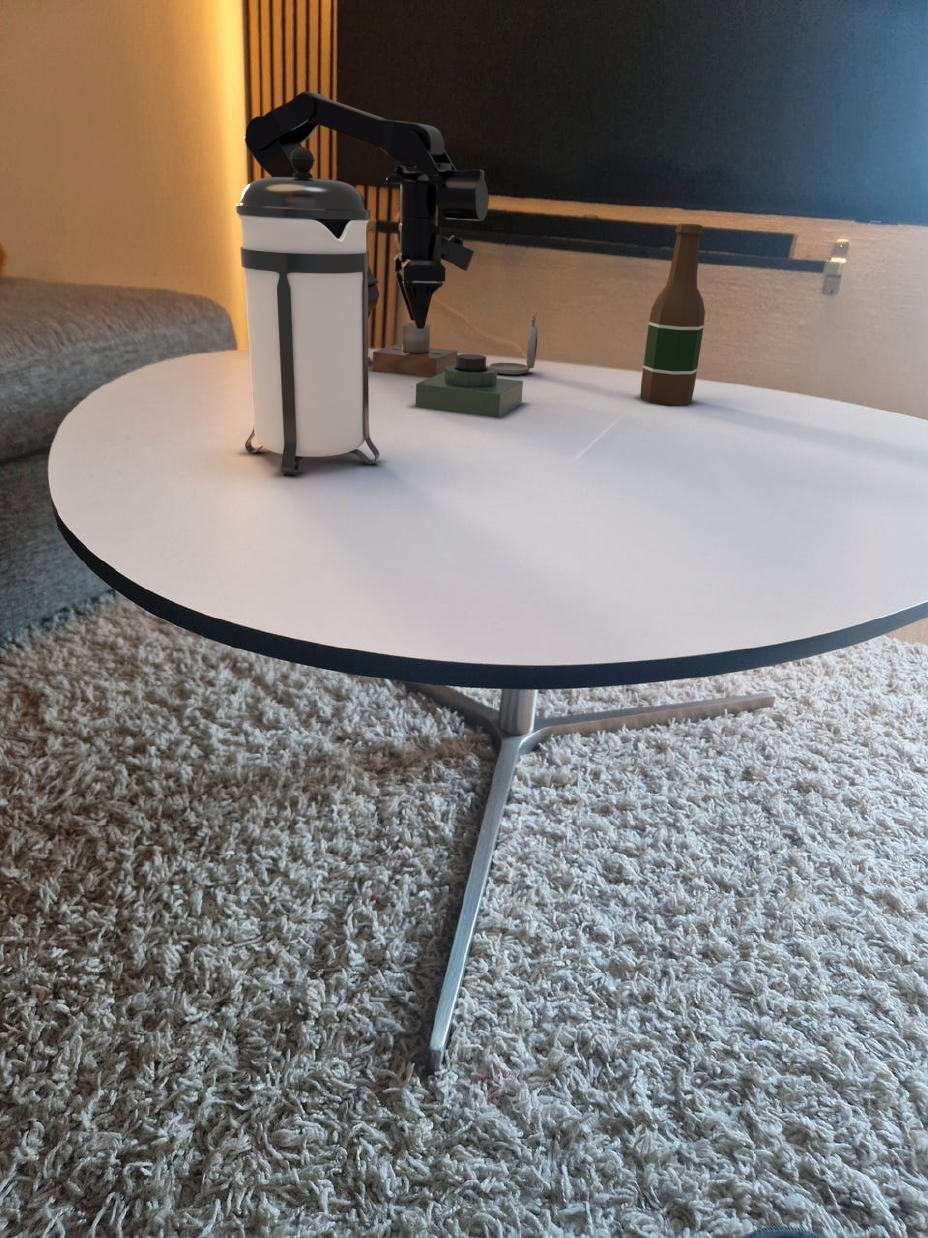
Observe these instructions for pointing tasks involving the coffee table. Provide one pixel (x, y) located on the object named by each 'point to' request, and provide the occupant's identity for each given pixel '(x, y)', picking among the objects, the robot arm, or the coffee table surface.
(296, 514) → the coffee table surface
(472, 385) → the button base
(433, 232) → the robot arm
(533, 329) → the pocket watch
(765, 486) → the coffee table surface
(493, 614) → the coffee table surface
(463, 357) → the push button
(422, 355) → the dial panel
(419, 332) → the dial
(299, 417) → the coffee press
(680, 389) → the beer bottle
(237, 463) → the coffee table surface
